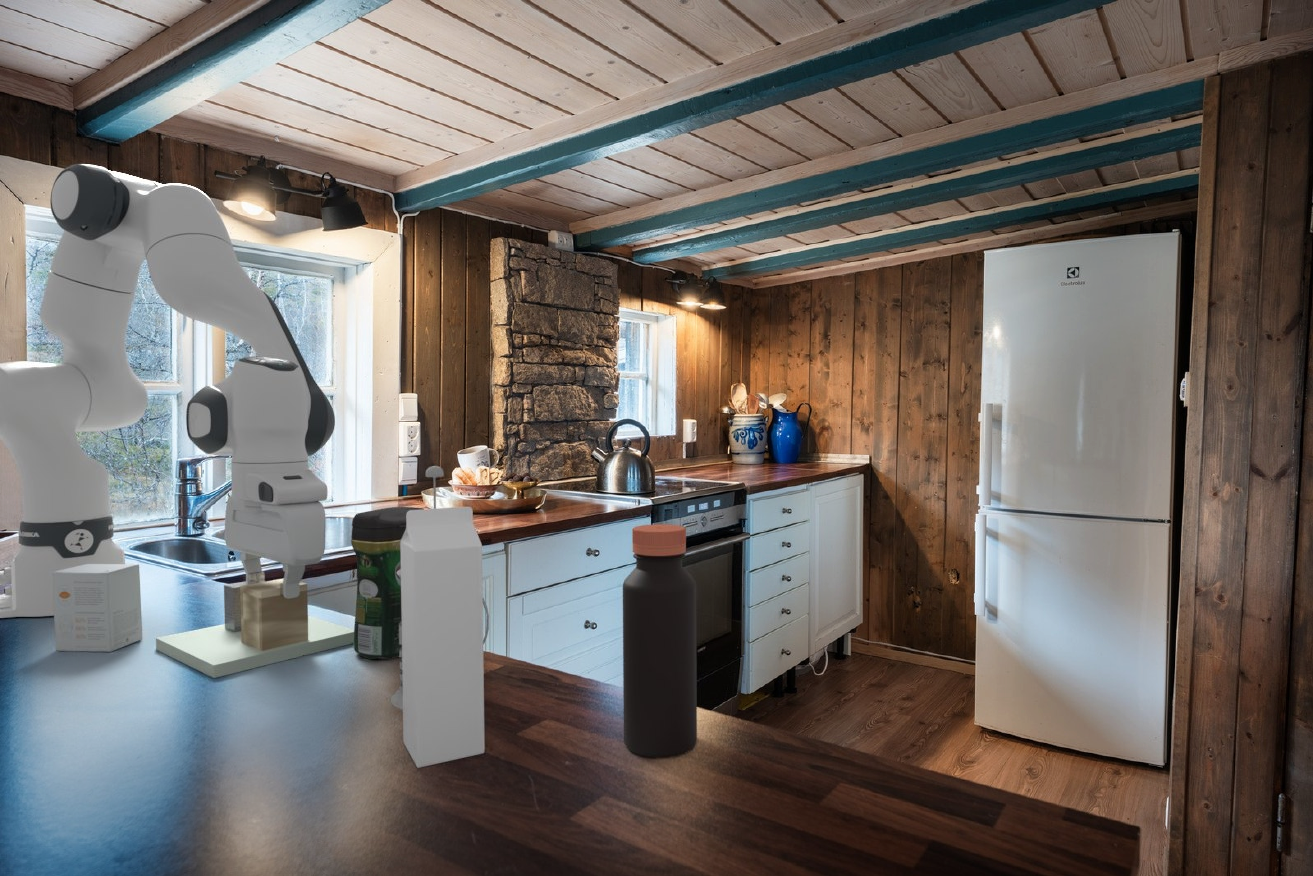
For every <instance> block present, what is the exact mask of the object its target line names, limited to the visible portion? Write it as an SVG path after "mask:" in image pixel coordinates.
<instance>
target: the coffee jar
mask: <svg viewBox="0 0 1313 876" xmlns="http://www.w3.org/2000/svg"><path fill="white" fill-rule="evenodd" d="M423 509H424V508H422V507H412V506H392V507H385V508H380V509H373V510H369V511H364V512H359V513H356V514H355V515H354V517H353V518H352V520H351V521H352V523H351V527H352V530H351V540H350V542H351V546H352V549H353V551H354V554H355V557H356V565H357V566H356V567H357V581H356V583H357V584H356V603H355V616H354V617H355V618H354V629H353V630H354V643H353V651H355V653H357V654H358V655H360V657H362V658H366V659H369V660H374V659H385V660H386V659H387V660H388V659H393V658H400V657H399V650H400V648H401V647H402V645H400V644H399V623H400V622H401V621H402V612H401V579H400V578H399V576H398V575H397V573H396V572H397V571H398V570H400V569H401V548H400V542H401V539H402V537H403V534H404V532H405V530H406V514H407V512H408V511H410V510H423Z"/></svg>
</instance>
